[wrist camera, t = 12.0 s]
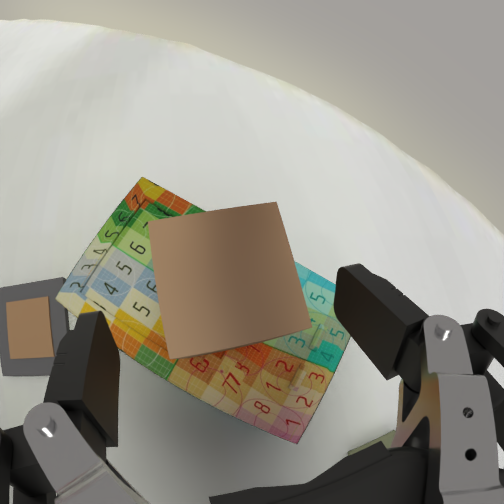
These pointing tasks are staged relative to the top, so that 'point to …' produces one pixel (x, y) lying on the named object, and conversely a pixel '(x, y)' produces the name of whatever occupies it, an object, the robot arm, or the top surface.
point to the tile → (31, 327)
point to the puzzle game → (216, 364)
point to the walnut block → (225, 280)
